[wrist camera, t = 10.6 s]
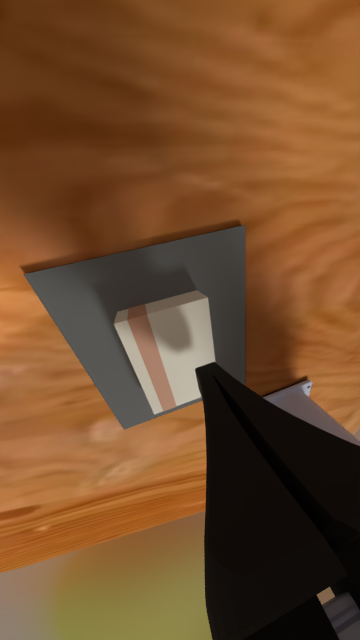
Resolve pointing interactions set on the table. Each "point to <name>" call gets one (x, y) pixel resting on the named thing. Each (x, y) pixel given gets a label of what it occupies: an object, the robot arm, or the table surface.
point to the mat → (142, 288)
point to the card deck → (168, 346)
